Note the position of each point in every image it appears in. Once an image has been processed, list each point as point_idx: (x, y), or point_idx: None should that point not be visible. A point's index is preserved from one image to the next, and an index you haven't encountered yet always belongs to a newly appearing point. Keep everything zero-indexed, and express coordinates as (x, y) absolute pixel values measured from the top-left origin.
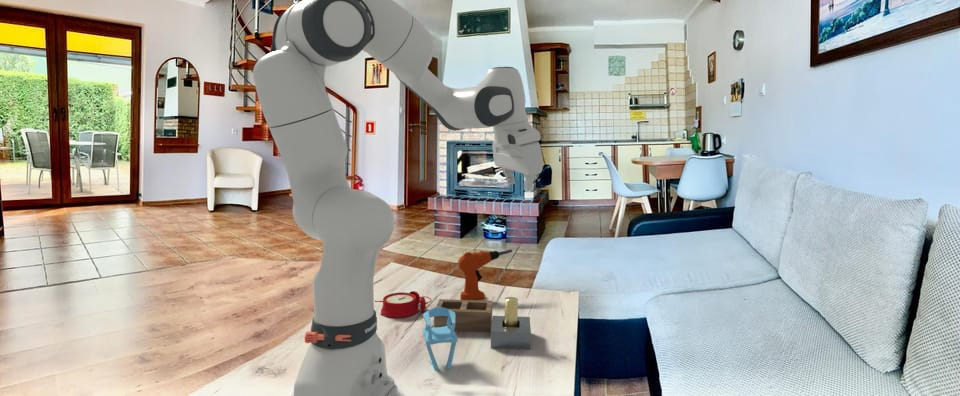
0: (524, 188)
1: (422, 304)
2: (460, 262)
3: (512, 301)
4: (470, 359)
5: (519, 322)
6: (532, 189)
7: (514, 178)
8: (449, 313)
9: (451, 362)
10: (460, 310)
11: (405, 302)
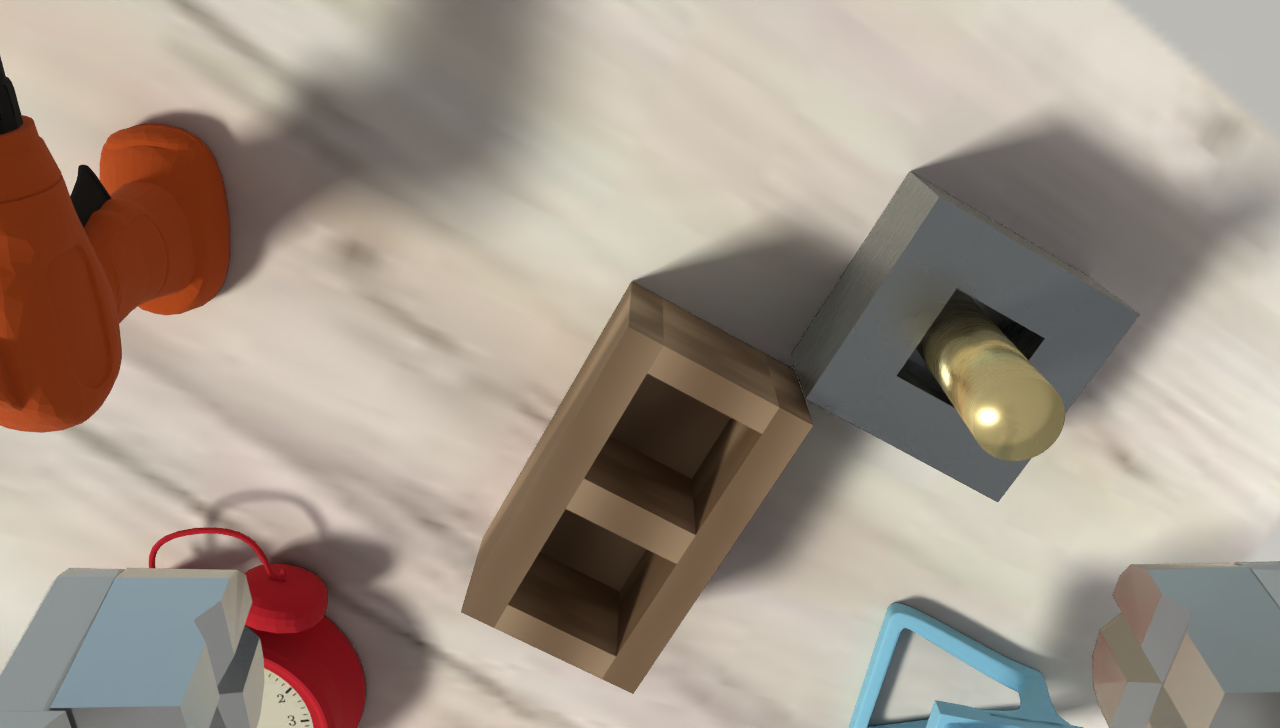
0: (1122, 714)
1: (318, 615)
2: (67, 427)
3: (1059, 432)
4: (977, 558)
5: (978, 300)
6: (1278, 566)
7: (196, 677)
8: None
9: (1048, 693)
10: (697, 568)
11: (298, 712)
